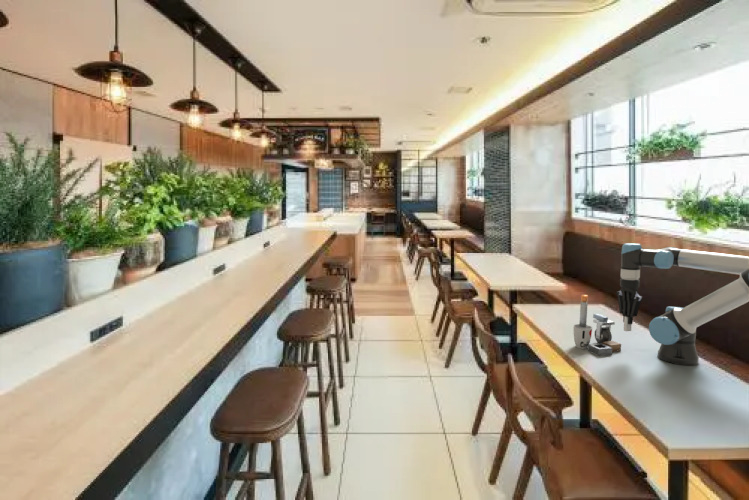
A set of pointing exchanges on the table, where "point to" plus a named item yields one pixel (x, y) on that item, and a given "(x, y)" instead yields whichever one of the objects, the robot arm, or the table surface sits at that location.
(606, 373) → the table surface
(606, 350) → the grey square socket base
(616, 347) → the block
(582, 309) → the pin
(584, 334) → the cup
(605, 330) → the caster wheel
